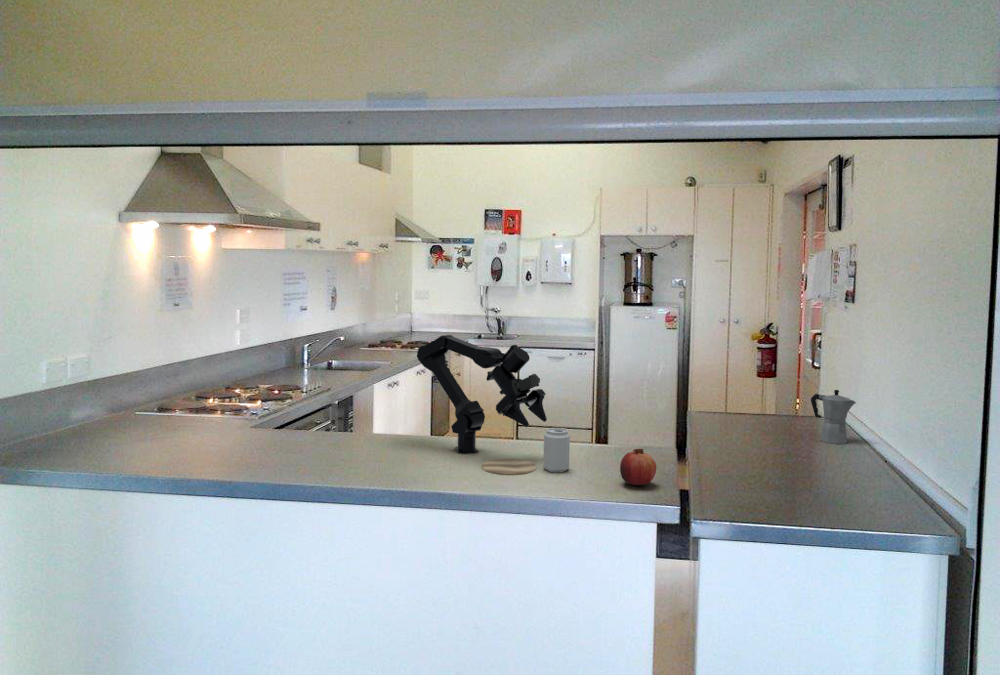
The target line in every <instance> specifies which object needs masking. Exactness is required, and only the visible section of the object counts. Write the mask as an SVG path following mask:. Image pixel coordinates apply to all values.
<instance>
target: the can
mask: <svg viewBox="0 0 1000 675" xmlns="http://www.w3.org/2000/svg"><path fill="white" fill-rule="evenodd" d="M570 436H571V435H570V434H569V431H568V429H567V428H563V427H551V428H547V429H546V432H545V433H544V434H543V468H544V469H545V471H547V470H548V471H547V472H550V471H551V473H562V472H561V471H565V470H566V471H568V469H569V468H570V450H571V448H570V446H571V445H570V443H571V440H570V439H571V437H570ZM566 471H565V472H566Z"/></svg>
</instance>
